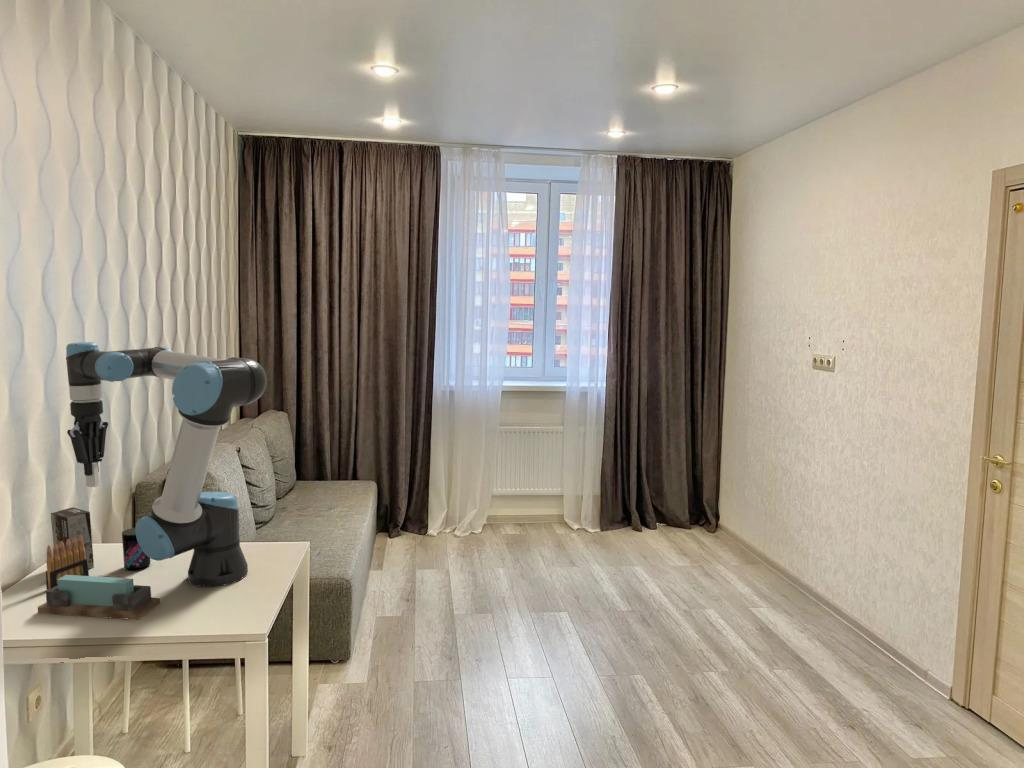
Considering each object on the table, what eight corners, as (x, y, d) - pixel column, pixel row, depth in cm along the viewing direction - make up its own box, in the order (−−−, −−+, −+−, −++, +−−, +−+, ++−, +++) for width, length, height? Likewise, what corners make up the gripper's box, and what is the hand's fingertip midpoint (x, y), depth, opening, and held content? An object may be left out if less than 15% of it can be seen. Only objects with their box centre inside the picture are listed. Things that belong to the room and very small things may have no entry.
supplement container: (118, 570, 205) (115, 534, 203) (136, 561, 211) (133, 526, 210) (138, 572, 203) (136, 536, 202) (156, 563, 210) (154, 528, 208)
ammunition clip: (51, 591, 191) (47, 546, 189) (46, 590, 191) (42, 545, 190) (89, 576, 200) (85, 533, 199) (84, 575, 201) (81, 533, 200)
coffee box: (95, 567, 207) (91, 511, 205) (71, 574, 201) (66, 517, 199) (78, 560, 212) (73, 506, 210) (54, 568, 206) (49, 512, 204)
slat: (134, 602, 181) (133, 578, 180) (126, 607, 178) (125, 583, 177) (68, 597, 183) (66, 574, 182) (59, 602, 180) (57, 579, 179)
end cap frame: (160, 603, 183) (159, 584, 183) (137, 619, 174) (135, 599, 174) (65, 597, 187) (63, 578, 186) (38, 613, 178) (36, 593, 177)
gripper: (90, 396, 204) (96, 479, 207) (55, 403, 191) (62, 492, 194) (115, 396, 203) (121, 480, 206) (81, 404, 190) (88, 493, 193)
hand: (92, 486), depth 200 cm, fingers closed
